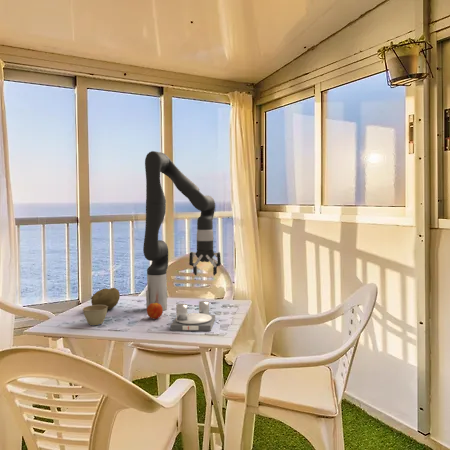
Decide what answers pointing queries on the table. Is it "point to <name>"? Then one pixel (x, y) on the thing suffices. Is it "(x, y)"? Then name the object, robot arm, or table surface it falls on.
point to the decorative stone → (106, 297)
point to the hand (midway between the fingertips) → (205, 275)
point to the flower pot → (95, 314)
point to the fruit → (154, 310)
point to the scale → (194, 323)
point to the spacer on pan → (181, 312)
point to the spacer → (204, 307)
